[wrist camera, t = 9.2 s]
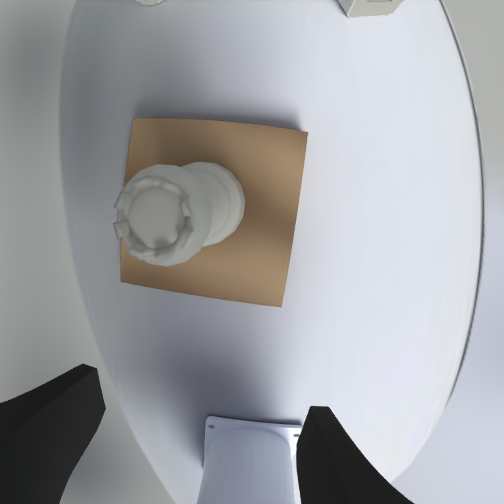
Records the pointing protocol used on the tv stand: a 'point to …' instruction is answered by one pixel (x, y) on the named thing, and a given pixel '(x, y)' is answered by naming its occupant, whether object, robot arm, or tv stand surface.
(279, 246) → the walnut plinth
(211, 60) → the tv stand surface
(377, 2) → the usb wall charger
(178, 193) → the rook chess piece
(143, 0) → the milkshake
